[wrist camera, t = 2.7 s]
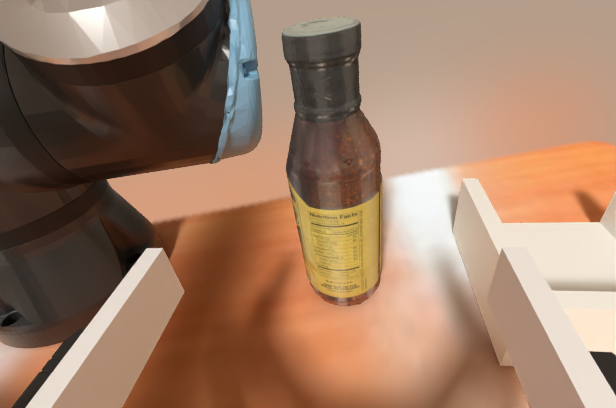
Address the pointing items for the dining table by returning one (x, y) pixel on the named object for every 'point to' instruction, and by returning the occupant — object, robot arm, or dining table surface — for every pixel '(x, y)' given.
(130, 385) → the robot arm
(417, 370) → the dining table surface
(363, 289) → the sauce bottle
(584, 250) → the bottle stand
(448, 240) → the dining table surface
